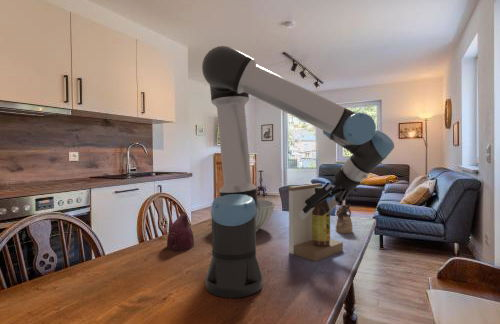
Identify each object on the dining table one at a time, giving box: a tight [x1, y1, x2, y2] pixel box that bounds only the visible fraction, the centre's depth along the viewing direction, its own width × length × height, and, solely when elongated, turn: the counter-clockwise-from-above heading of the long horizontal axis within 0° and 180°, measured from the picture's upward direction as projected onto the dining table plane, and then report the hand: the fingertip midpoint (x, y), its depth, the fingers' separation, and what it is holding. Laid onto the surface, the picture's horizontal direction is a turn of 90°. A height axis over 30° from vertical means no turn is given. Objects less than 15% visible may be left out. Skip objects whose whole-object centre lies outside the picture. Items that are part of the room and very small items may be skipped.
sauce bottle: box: [312, 186, 331, 246], centre depth 104 cm, size 6×6×20 cm
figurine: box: [335, 203, 353, 234], centre depth 132 cm, size 7×7×12 cm
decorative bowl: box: [256, 199, 275, 233], centre depth 136 cm, size 27×27×12 cm
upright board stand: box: [287, 182, 344, 262], centre depth 105 cm, size 17×11×23 cm, turn 130°
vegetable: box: [166, 211, 195, 252], centre depth 112 cm, size 10×10×15 cm
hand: (313, 214), depth 106 cm, fingers open, 13 cm apart
